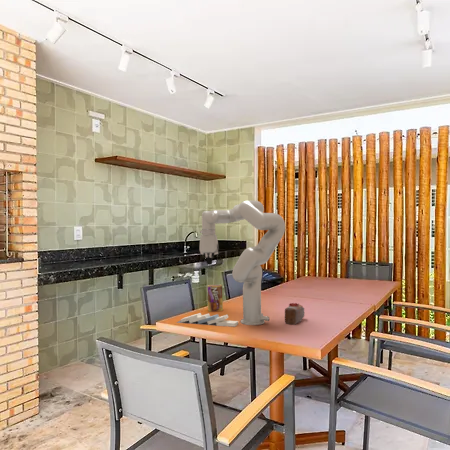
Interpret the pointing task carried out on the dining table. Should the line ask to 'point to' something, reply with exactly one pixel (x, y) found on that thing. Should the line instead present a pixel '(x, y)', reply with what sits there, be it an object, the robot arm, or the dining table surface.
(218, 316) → the slate domino
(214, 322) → the domino
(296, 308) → the food item
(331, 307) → the dining table surface
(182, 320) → the domino
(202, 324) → the mat
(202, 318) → the domino
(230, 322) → the domino
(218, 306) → the candy box
